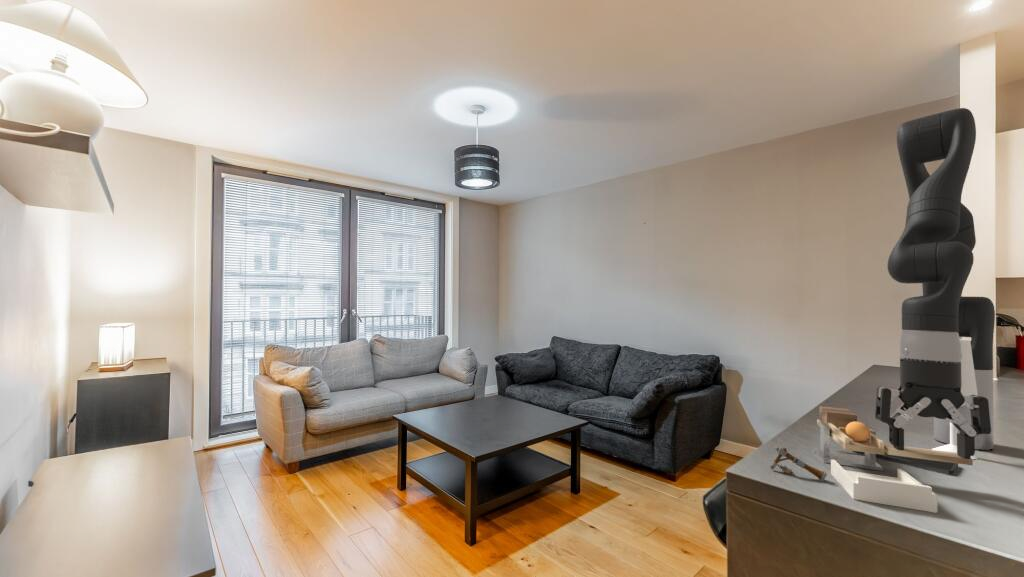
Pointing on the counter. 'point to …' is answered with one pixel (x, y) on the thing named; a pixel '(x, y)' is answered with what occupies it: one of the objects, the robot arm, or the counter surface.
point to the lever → (877, 439)
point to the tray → (886, 489)
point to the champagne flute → (963, 390)
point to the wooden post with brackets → (816, 472)
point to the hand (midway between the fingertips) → (930, 453)
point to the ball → (858, 431)
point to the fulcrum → (842, 458)
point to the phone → (920, 463)
